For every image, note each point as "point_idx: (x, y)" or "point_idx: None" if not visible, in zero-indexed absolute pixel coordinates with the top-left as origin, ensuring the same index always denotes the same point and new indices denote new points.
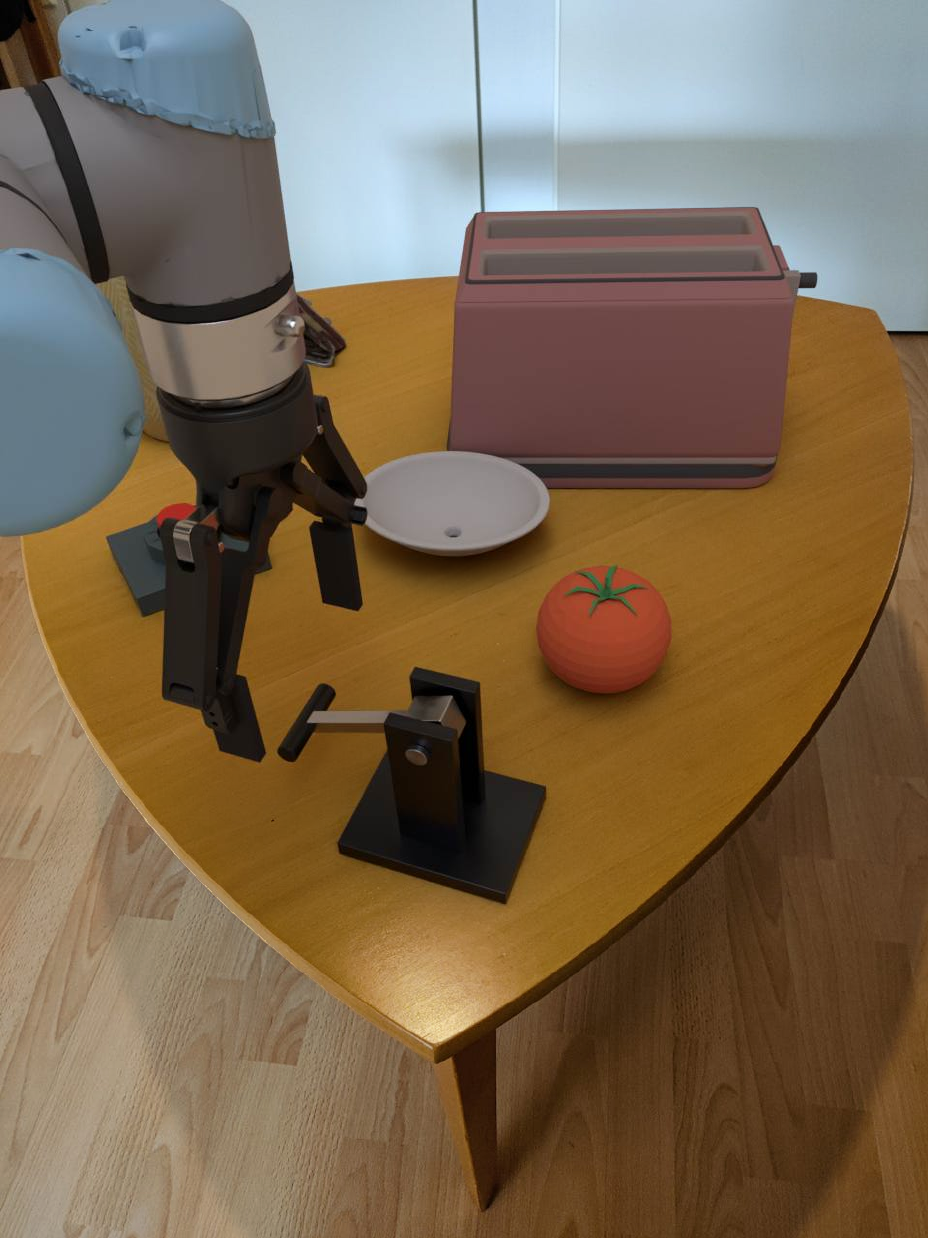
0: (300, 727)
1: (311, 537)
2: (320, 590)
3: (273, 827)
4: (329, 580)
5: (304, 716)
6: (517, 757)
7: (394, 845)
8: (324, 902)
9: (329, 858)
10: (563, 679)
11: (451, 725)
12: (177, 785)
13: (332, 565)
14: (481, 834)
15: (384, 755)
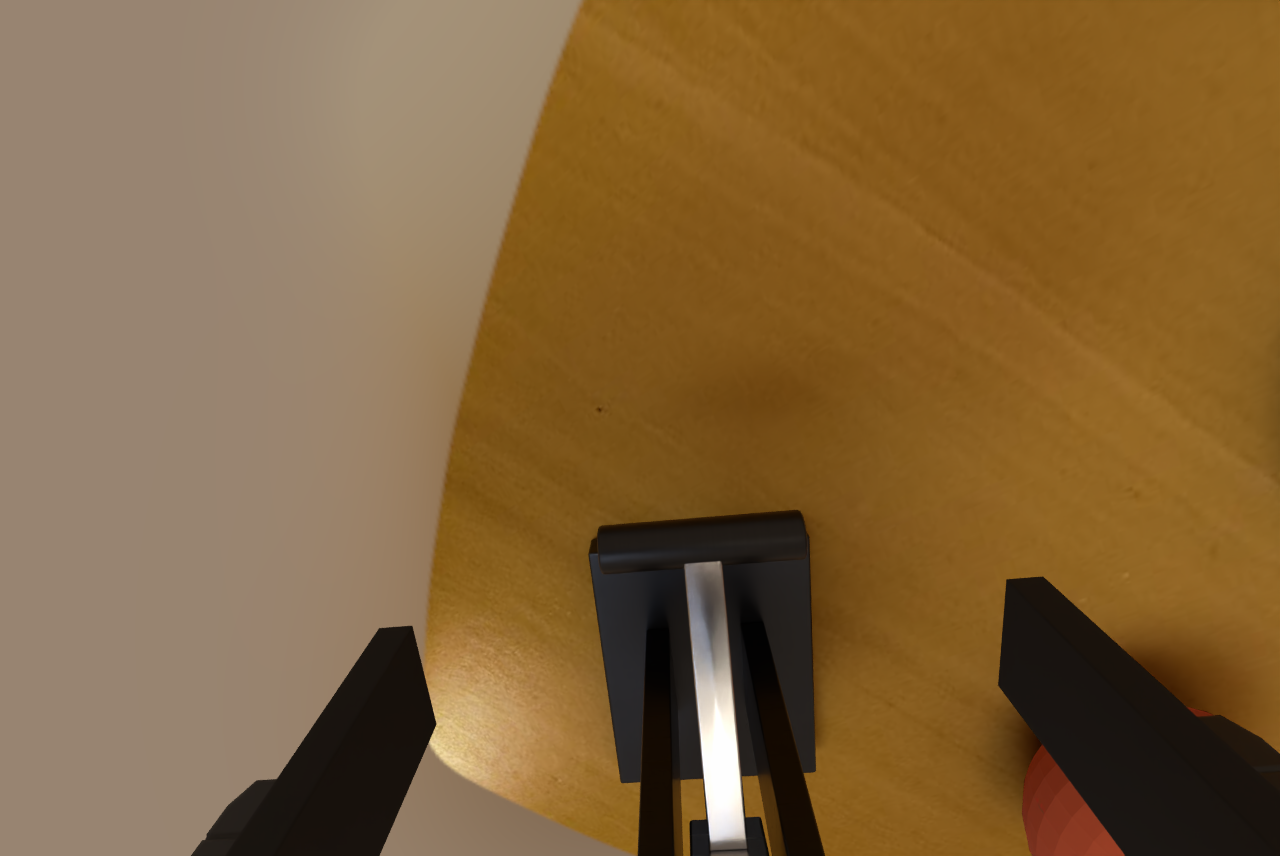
0: (664, 562)
1: (1242, 818)
2: (1037, 611)
3: (587, 418)
4: (1068, 686)
5: (696, 553)
6: (869, 692)
7: (624, 630)
8: (511, 558)
9: (578, 529)
10: (1036, 762)
11: None
12: (585, 194)
13: (1119, 768)
14: (696, 727)
15: None
